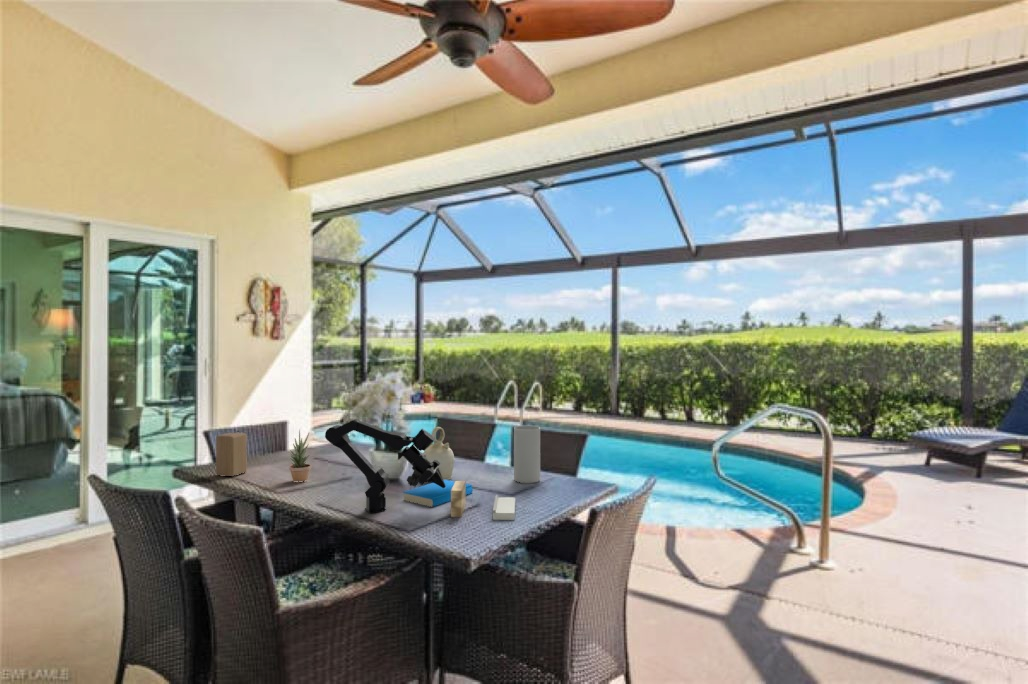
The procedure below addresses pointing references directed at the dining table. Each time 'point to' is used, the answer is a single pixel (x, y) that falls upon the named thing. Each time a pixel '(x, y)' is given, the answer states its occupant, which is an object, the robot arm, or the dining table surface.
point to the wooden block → (231, 454)
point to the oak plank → (458, 498)
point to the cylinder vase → (527, 454)
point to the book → (432, 493)
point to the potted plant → (299, 461)
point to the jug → (441, 454)
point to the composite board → (504, 508)
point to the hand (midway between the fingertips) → (444, 487)
